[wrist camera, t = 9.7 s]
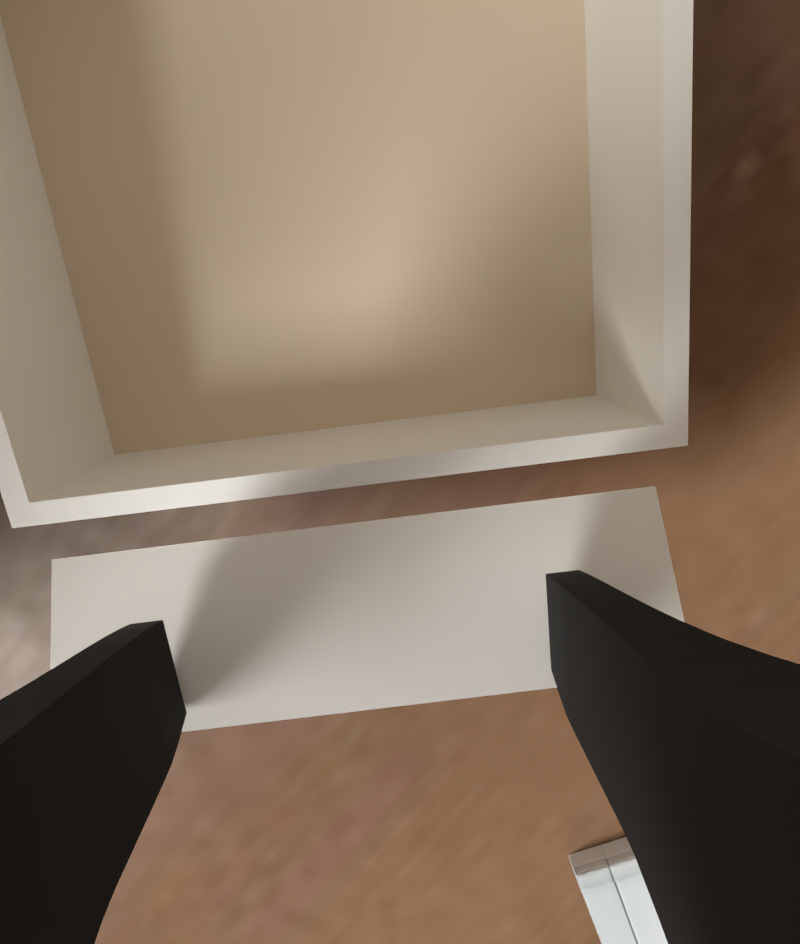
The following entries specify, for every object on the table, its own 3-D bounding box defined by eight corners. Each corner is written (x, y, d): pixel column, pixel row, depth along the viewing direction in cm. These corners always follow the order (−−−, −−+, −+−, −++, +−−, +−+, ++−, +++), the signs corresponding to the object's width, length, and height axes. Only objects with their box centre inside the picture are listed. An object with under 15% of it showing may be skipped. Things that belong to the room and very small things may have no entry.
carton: (109, 469, 17) (12, 528, 12) (-27, -42, 13) (-224, -207, 9) (608, 408, 17) (687, 445, 12) (595, -123, 13) (697, -331, 9)
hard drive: (952, 765, 19) (577, 884, 20) (979, 944, 21) (640, 1044, 22) (907, 729, 21) (563, 841, 21) (937, 899, 23) (623, 994, 24)
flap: (51, 559, 12) (80, 562, 13) (49, 747, 11) (80, 735, 12) (655, 486, 12) (636, 495, 13) (695, 671, 11) (672, 665, 12)
